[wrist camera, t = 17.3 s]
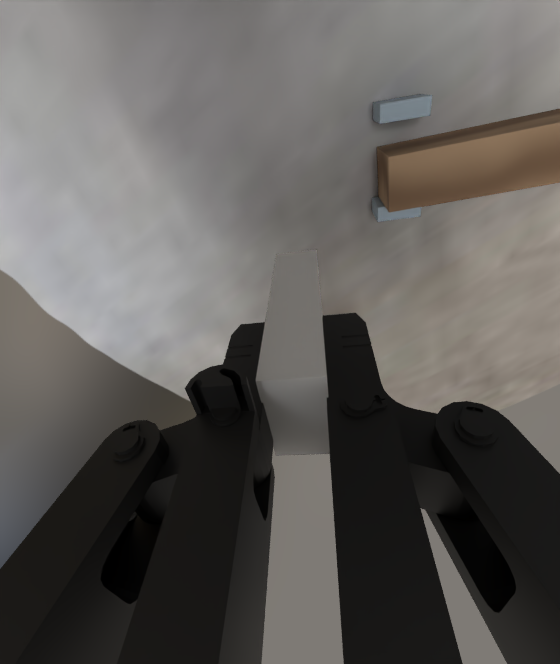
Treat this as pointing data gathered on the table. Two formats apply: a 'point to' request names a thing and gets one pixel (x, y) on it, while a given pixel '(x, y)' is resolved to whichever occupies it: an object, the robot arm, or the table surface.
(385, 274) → the table surface
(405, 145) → the slat
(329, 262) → the table surface
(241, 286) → the table surface
